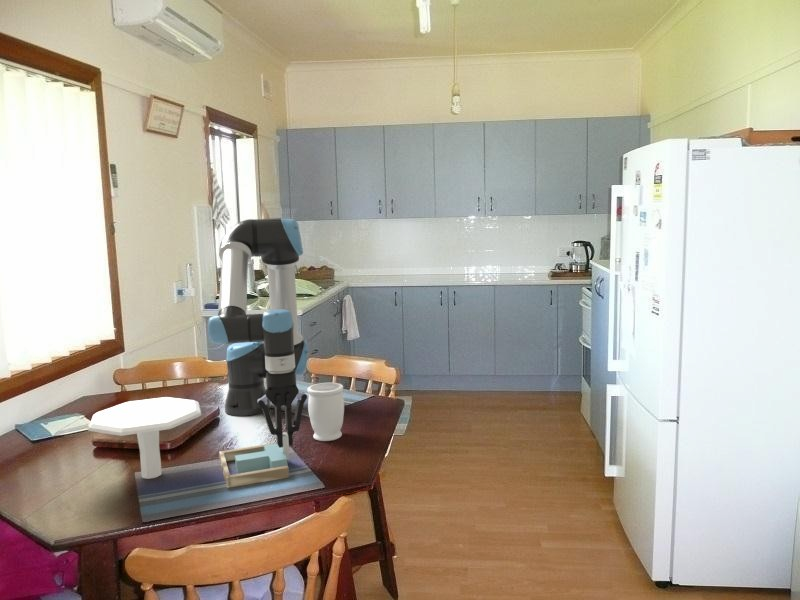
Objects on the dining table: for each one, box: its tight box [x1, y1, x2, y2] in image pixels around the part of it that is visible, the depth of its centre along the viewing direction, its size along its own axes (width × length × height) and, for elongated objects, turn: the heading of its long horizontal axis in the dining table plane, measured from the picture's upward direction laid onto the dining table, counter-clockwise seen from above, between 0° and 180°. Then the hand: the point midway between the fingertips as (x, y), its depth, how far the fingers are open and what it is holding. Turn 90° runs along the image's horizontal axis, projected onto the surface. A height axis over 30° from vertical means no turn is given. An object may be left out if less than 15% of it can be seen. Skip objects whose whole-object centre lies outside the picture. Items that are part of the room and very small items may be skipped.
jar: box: [306, 382, 345, 442], centre depth 185 cm, size 11×10×15 cm
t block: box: [234, 443, 289, 474], centre depth 164 cm, size 12×12×4 cm
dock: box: [218, 442, 290, 489], centre depth 164 cm, size 19×15×2 cm
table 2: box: [87, 396, 202, 480], centre depth 161 cm, size 28×28×17 cm
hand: (285, 457), depth 167 cm, fingers closed
